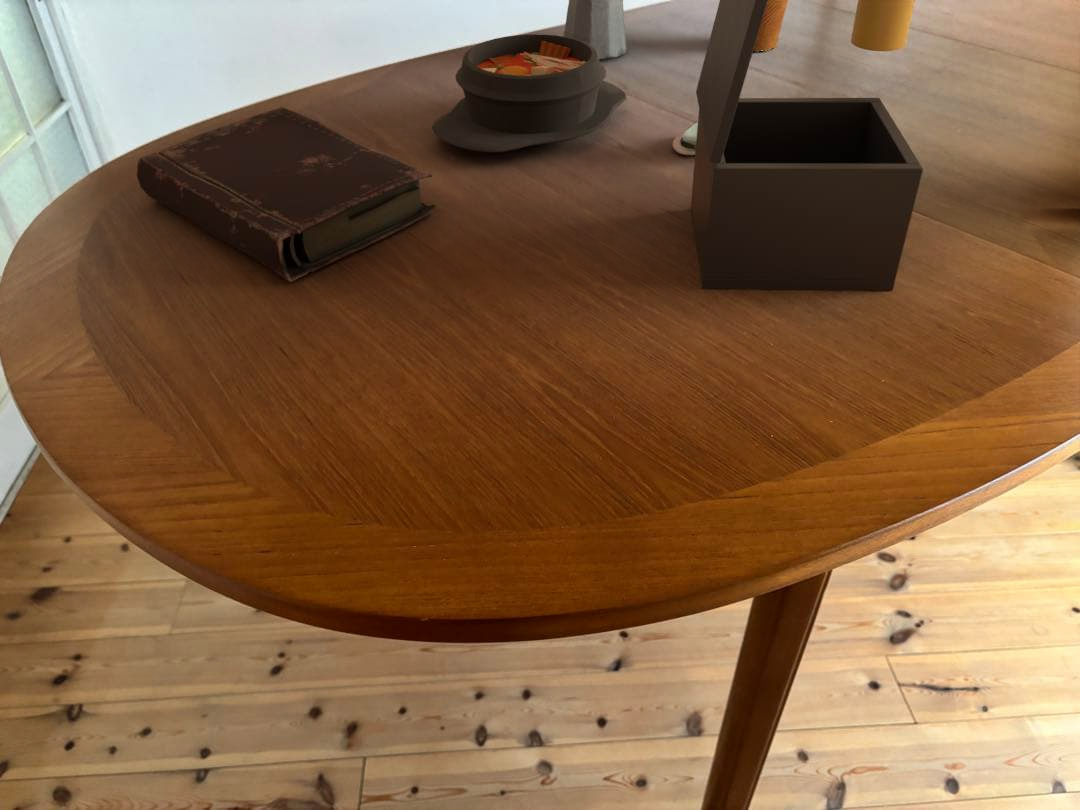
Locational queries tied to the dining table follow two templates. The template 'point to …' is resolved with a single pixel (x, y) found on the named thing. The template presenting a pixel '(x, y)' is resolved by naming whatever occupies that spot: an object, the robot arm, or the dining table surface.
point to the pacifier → (687, 137)
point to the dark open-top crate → (804, 197)
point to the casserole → (528, 94)
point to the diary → (285, 190)
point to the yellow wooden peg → (882, 24)
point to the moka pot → (597, 25)
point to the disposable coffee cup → (770, 25)
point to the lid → (727, 68)
